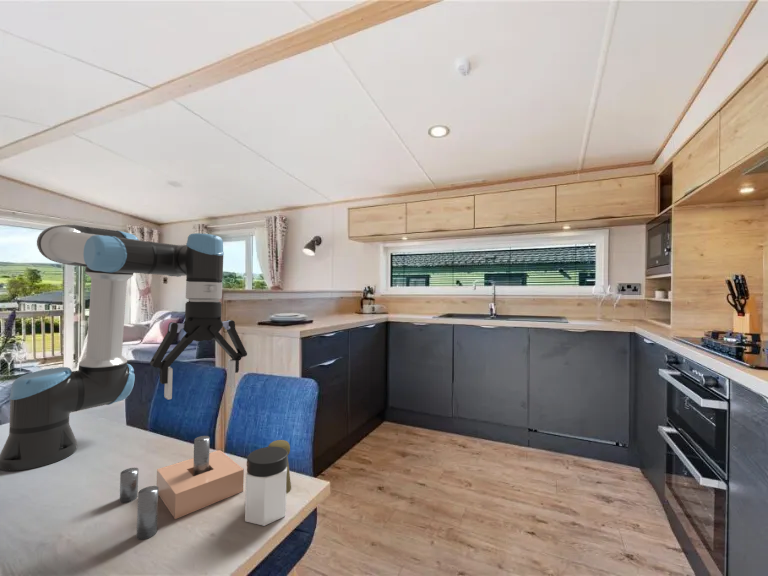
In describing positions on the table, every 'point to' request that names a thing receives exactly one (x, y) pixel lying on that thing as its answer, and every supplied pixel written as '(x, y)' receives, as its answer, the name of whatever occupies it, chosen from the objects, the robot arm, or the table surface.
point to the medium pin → (147, 512)
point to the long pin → (201, 455)
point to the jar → (266, 485)
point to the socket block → (198, 484)
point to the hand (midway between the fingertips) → (201, 392)
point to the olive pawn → (286, 446)
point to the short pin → (128, 485)
